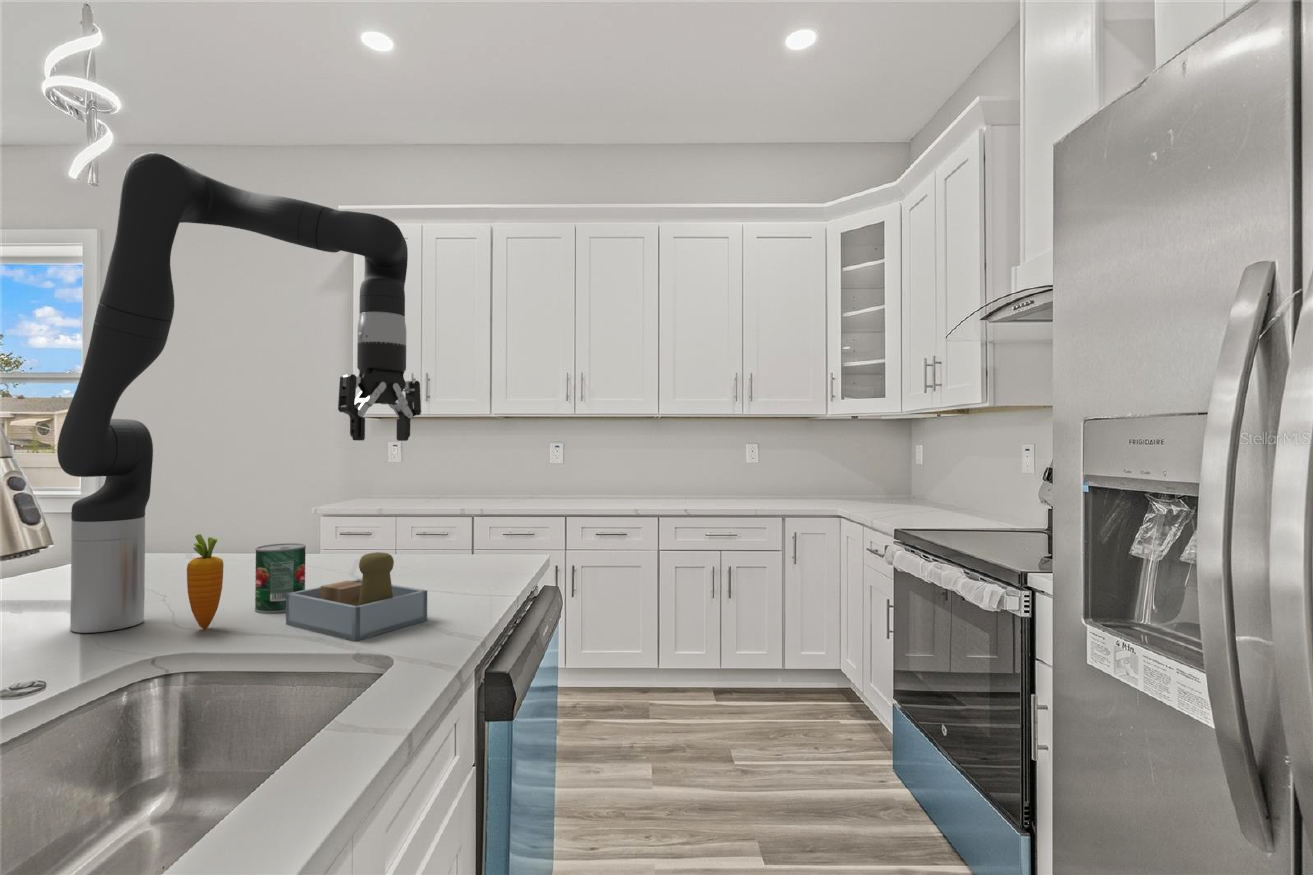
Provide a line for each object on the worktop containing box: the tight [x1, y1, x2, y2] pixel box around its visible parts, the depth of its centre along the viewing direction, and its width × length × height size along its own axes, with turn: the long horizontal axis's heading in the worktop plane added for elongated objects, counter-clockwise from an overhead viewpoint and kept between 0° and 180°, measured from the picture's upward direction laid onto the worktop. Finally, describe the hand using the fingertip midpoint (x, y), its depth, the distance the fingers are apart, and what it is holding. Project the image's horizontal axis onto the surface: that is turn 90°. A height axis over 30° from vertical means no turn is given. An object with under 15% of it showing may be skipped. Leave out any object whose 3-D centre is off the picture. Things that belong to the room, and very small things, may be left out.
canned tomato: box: [254, 542, 307, 614], centre depth 120 cm, size 8×8×11 cm
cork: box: [358, 552, 395, 606], centre depth 109 cm, size 6×6×11 cm
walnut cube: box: [320, 580, 362, 606], centre depth 113 cm, size 5×5×5 cm
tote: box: [285, 578, 428, 642], centre depth 111 cm, size 18×14×5 cm
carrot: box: [186, 533, 224, 630], centre depth 107 cm, size 5×5×15 cm
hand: (381, 440), depth 112 cm, fingers open, 8 cm apart
